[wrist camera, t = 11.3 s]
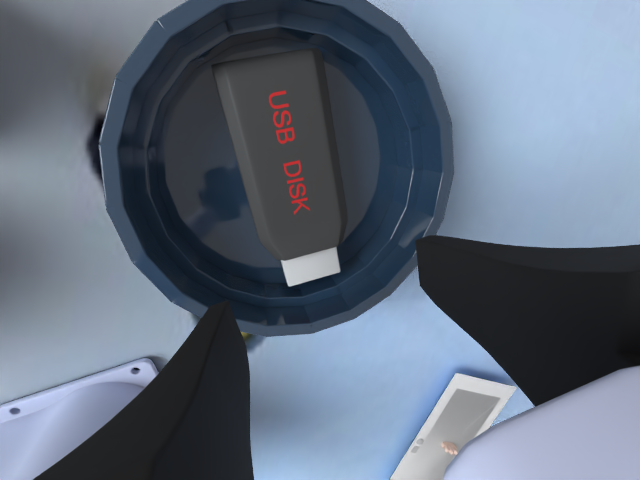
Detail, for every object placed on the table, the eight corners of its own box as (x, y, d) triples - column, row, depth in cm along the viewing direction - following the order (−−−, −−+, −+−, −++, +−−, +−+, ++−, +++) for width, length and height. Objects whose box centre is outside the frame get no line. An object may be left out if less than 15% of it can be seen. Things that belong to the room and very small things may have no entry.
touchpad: (507, 378, 31) (526, 396, 29) (433, 490, 34) (445, 512, 32) (448, 364, 28) (464, 382, 26) (373, 486, 31) (382, 511, 29)
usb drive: (311, 52, 17) (325, 38, 14) (345, 255, 21) (360, 272, 19) (211, 68, 16) (207, 57, 13) (269, 276, 20) (274, 297, 18)
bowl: (197, 327, 21) (188, 376, 17) (72, 45, 15) (9, 13, 11) (420, 255, 23) (459, 283, 19) (394, -11, 17) (444, -54, 13)
